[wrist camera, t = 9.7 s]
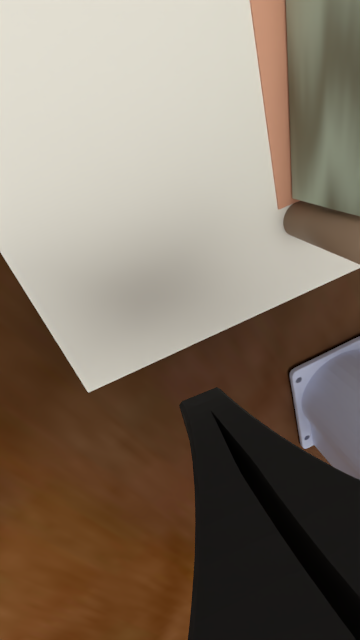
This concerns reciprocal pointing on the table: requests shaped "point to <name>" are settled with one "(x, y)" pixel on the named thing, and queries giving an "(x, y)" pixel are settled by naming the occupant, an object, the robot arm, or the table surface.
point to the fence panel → (325, 102)
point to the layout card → (153, 175)
